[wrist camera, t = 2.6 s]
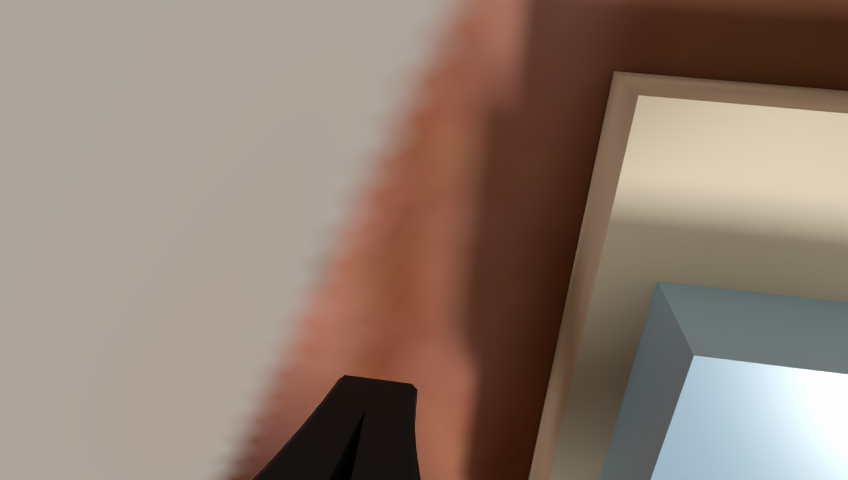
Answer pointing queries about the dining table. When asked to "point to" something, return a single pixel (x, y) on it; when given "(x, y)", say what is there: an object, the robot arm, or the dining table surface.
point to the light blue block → (735, 389)
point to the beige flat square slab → (690, 230)
